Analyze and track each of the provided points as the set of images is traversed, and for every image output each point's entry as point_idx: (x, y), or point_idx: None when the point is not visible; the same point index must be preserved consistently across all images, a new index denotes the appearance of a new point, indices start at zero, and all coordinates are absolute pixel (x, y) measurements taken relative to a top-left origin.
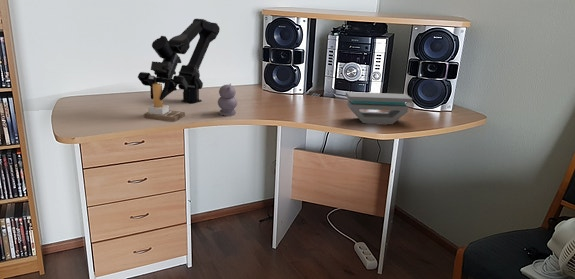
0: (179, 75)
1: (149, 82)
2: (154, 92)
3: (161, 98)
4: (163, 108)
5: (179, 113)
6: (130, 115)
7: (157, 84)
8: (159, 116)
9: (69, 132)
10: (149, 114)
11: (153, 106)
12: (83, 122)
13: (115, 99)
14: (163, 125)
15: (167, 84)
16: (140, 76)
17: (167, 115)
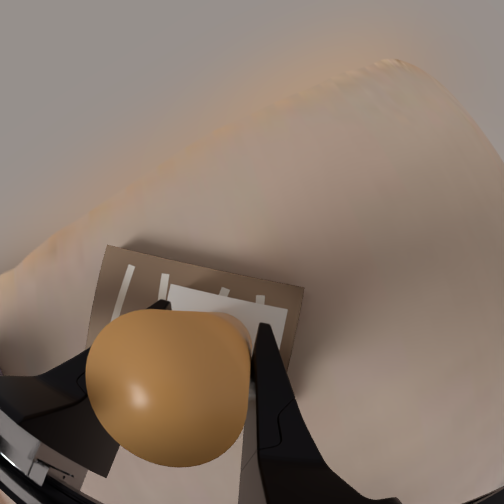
0: None
1: (340, 481)
2: (215, 318)
3: (155, 308)
4: (167, 299)
5: (101, 330)
6: (383, 315)
7: (150, 387)
8: (197, 266)
9: (438, 95)
10: (265, 281)
11: (252, 334)
12: (475, 181)
13: (467, 489)
14: (162, 179)
15: (28, 385)
16: (497, 495)
17: (152, 280)
